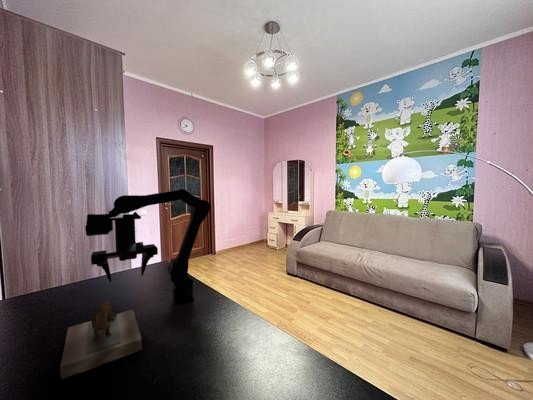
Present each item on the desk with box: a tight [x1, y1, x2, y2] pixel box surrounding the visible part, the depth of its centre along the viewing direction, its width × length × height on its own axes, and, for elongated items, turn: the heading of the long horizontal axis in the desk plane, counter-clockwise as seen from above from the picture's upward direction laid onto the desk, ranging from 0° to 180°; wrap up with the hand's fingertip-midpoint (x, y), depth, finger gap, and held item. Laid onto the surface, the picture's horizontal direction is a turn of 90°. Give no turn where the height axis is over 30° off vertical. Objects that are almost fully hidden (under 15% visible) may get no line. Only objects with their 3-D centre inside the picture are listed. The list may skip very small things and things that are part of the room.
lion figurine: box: [91, 301, 118, 341], centre depth 63 cm, size 15×5×9 cm, turn 39°
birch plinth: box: [59, 309, 143, 380], centre depth 63 cm, size 16×18×3 cm
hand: (126, 278), depth 77 cm, fingers open, 9 cm apart
